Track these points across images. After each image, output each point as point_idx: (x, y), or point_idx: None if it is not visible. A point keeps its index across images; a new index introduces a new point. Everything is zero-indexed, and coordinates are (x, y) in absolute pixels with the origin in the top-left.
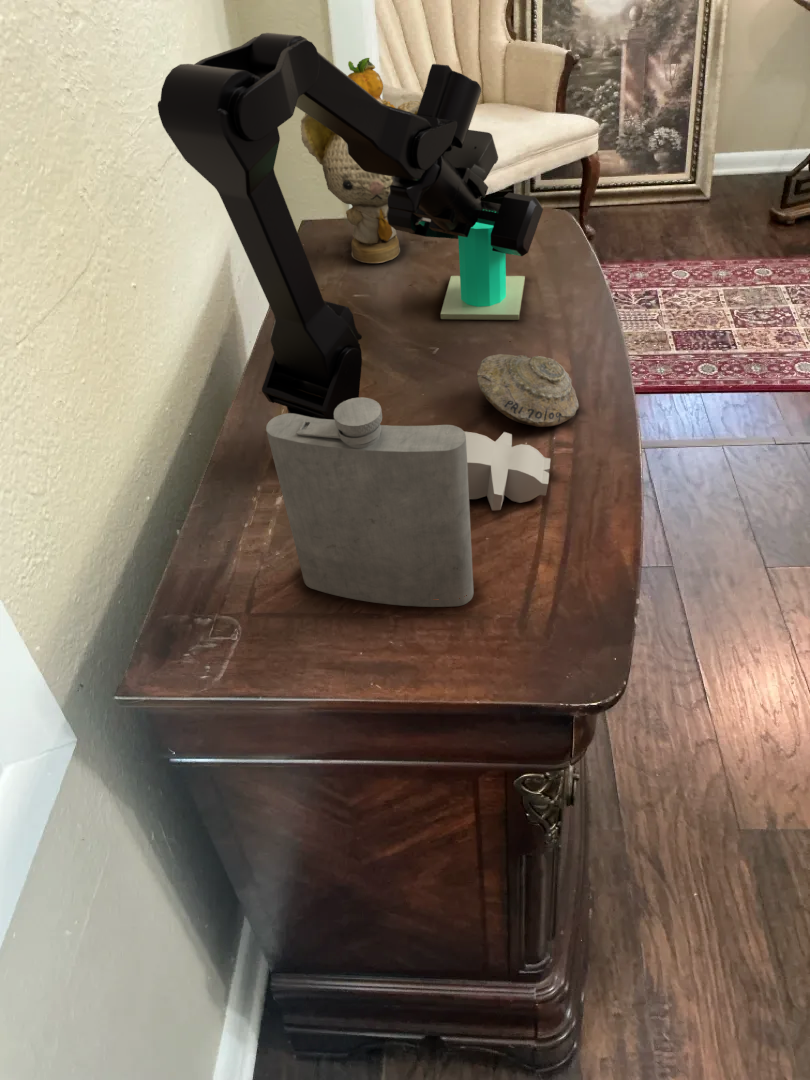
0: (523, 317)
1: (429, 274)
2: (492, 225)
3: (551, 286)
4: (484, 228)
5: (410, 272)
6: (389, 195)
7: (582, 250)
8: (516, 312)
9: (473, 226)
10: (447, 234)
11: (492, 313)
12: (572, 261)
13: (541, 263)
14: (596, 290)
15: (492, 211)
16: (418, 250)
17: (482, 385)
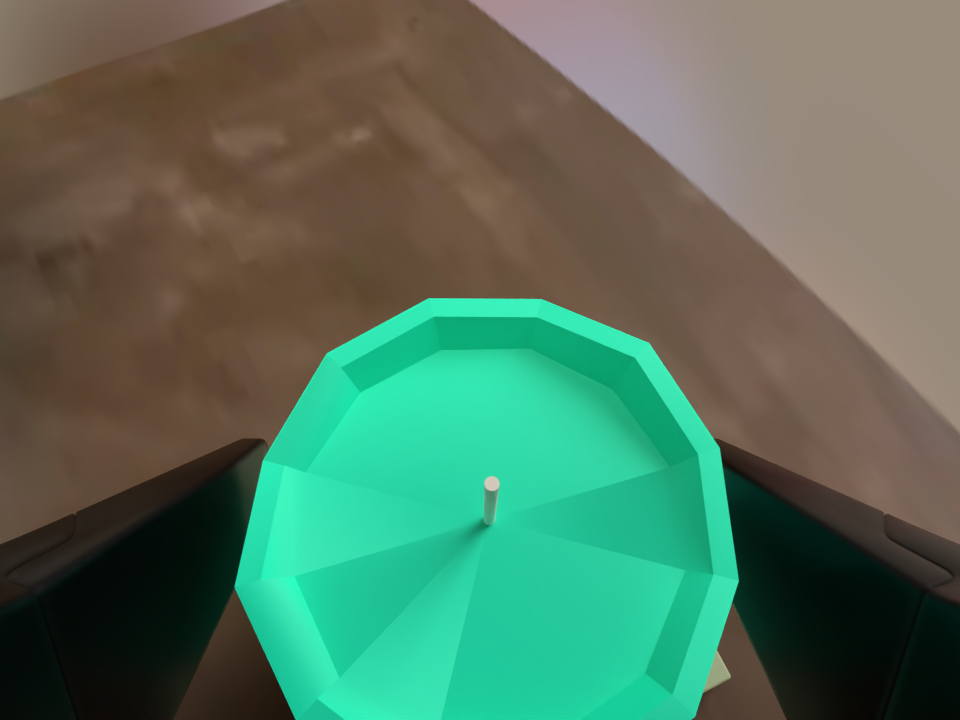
0: (721, 639)
1: (149, 473)
2: (645, 568)
3: (669, 362)
4: None
5: (55, 492)
6: None
7: (619, 125)
8: (712, 665)
9: (478, 669)
10: (200, 630)
11: None
12: (631, 191)
13: (541, 237)
14: (828, 325)
15: (502, 338)
16: (33, 320)
17: None
